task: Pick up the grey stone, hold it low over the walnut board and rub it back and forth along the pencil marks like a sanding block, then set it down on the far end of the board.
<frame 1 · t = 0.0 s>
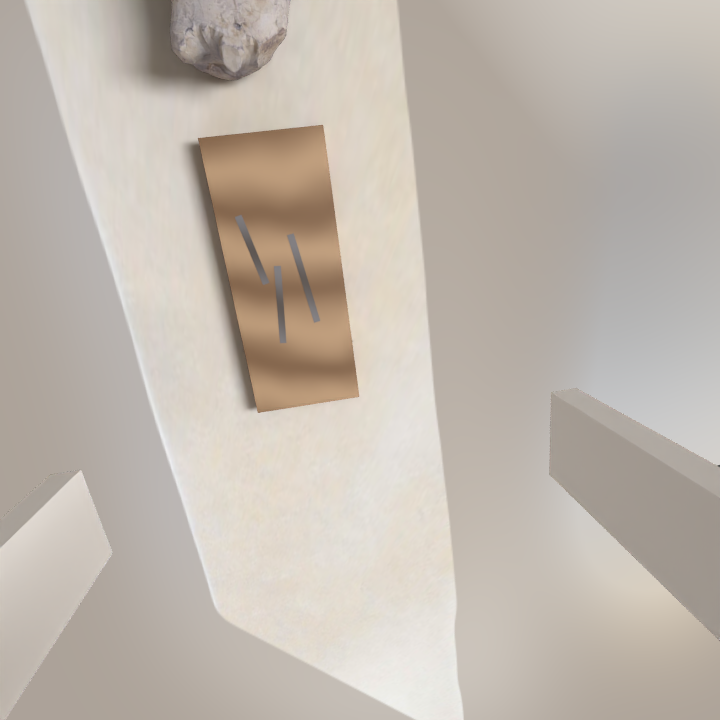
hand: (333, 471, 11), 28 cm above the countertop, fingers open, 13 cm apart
board: (288, 280, 37), on the countertop
stone: (241, 8, 31), on the countertop
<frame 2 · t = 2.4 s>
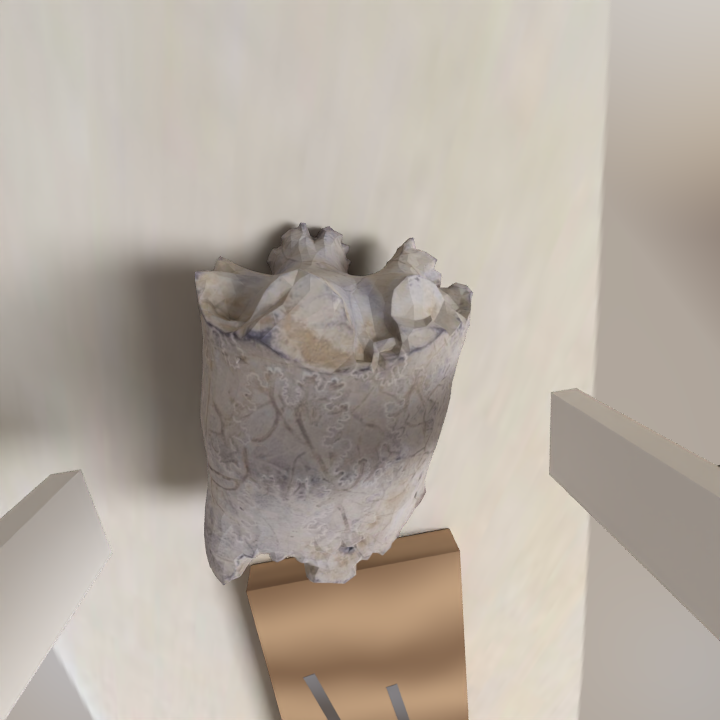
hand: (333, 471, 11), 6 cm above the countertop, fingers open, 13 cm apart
board: (377, 706, 23), on the countertop
stone: (324, 371, 17), on the countertop
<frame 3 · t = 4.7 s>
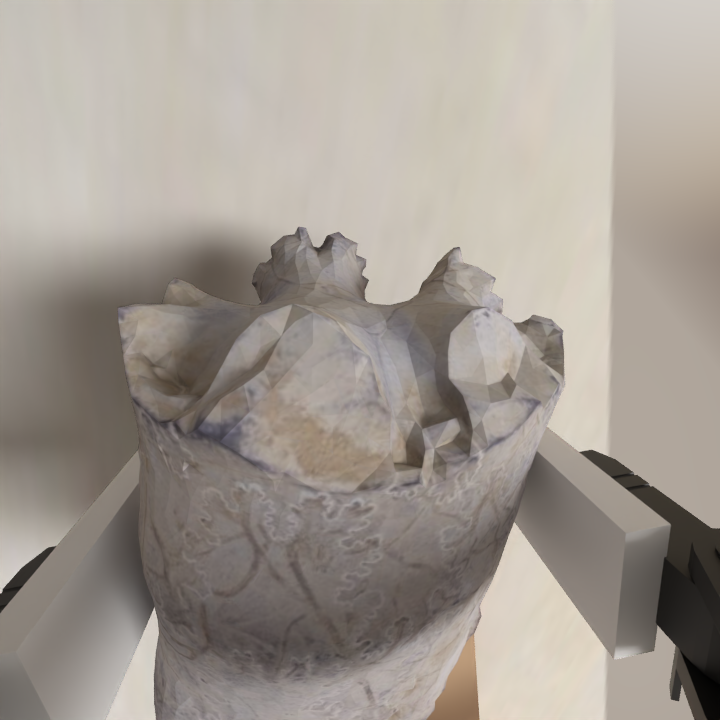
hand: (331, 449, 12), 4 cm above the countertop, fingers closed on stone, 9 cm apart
stone: (331, 426, 13), point 3 cm above the countertop, touching gripper
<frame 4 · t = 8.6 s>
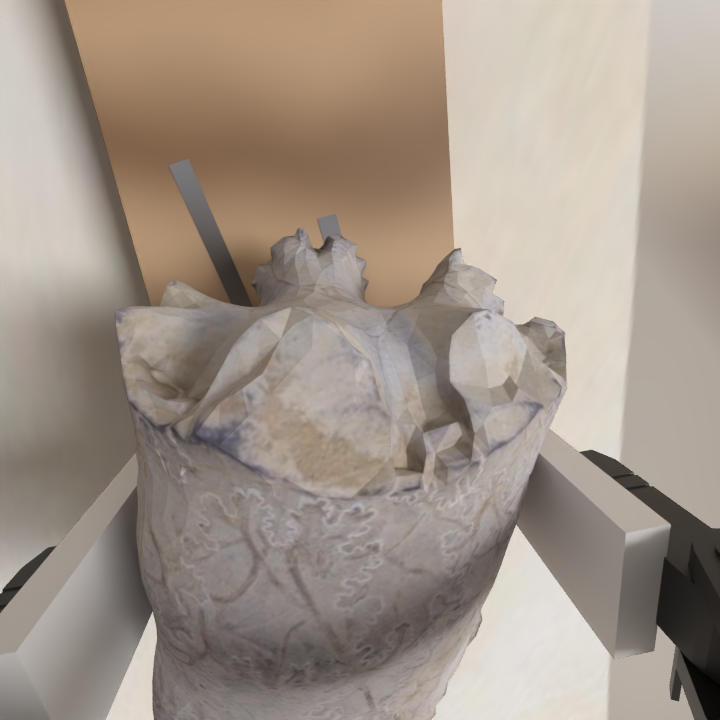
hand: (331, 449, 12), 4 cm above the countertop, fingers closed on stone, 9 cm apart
board: (316, 332, 15), on the countertop
stone: (331, 427, 13), point 3 cm above the countertop, touching gripper
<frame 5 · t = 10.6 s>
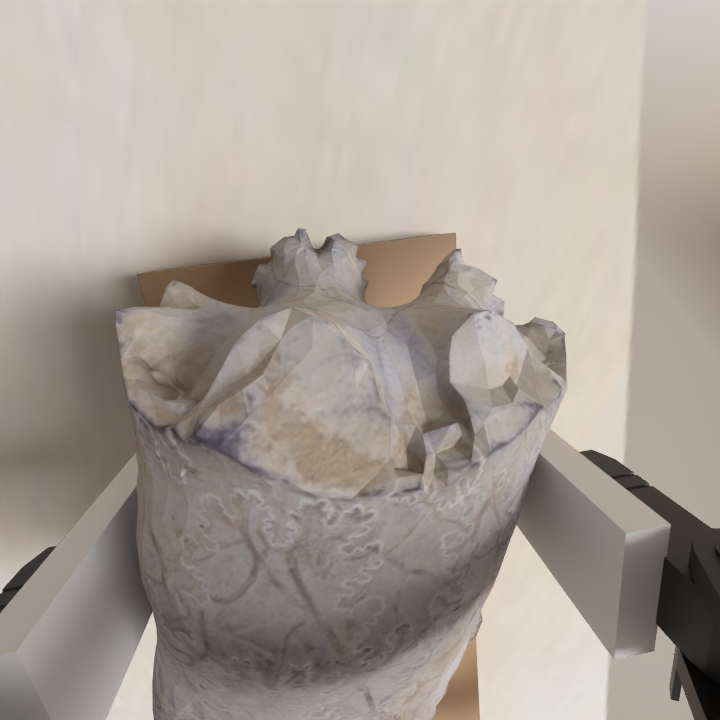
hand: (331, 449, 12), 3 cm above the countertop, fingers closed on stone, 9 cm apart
board: (347, 533, 17), on the countertop
stone: (331, 428, 13), point 3 cm above the countertop, touching gripper
when the fingers open (3 cm above the countertop, at t = 12.4 s): stone drops 2 cm, resting on board.
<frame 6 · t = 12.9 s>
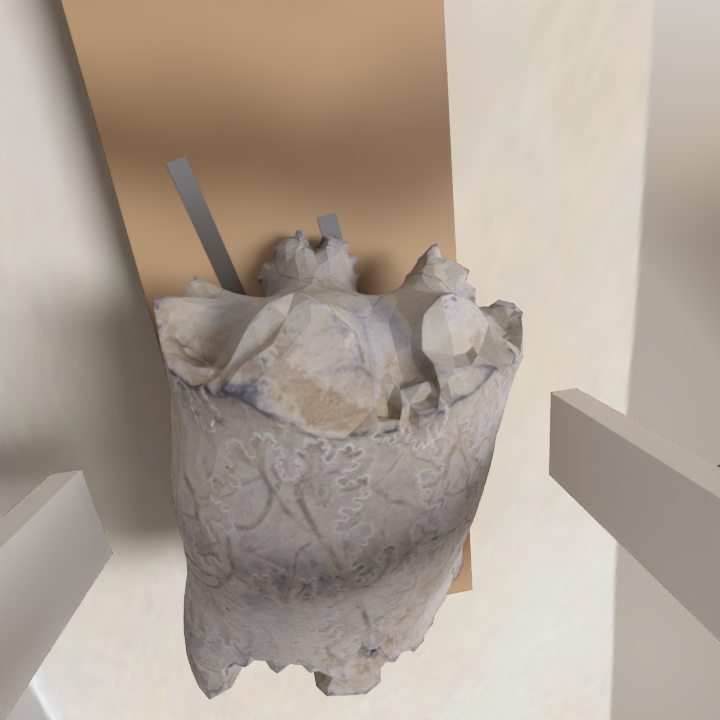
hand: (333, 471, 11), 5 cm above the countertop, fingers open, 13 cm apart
board: (315, 332, 15), on the countertop
stone: (331, 407, 14), point 1 cm above the countertop, touching board
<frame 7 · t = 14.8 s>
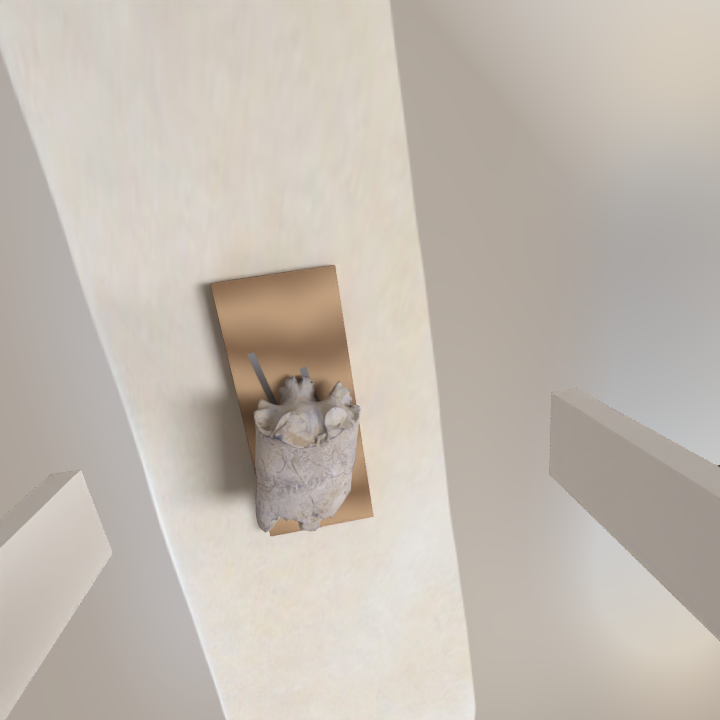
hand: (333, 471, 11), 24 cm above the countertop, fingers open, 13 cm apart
board: (300, 405, 36), on the countertop
stone: (307, 436, 36), point 1 cm above the countertop, touching board
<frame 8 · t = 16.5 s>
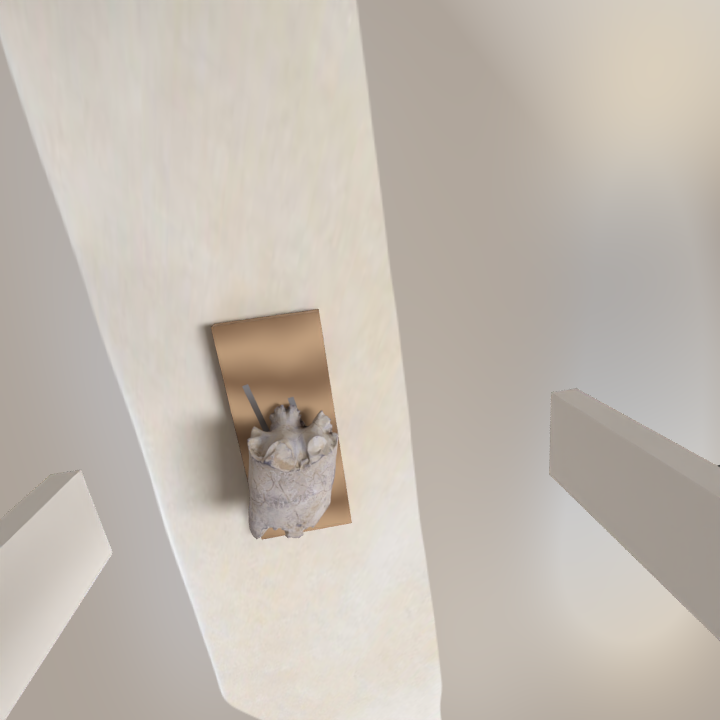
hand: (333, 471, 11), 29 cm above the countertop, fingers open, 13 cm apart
board: (288, 428, 42), on the countertop
stone: (293, 454, 41), point 1 cm above the countertop, touching board
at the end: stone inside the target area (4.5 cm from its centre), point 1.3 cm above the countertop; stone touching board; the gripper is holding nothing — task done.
